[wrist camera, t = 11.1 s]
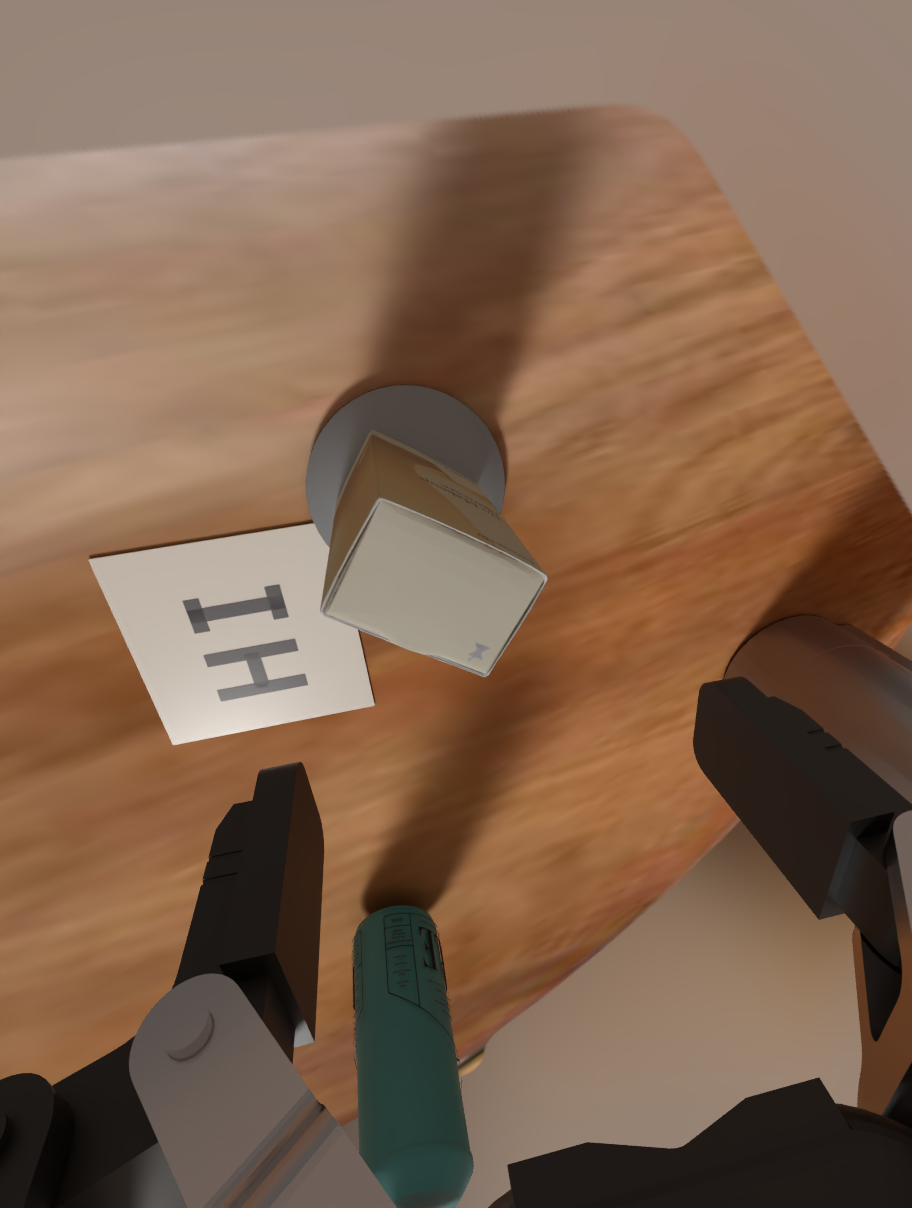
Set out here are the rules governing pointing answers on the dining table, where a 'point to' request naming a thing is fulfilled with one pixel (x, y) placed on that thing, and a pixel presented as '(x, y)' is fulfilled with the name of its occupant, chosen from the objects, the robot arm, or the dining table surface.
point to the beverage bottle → (407, 1062)
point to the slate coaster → (413, 422)
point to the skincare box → (426, 559)
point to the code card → (235, 632)
